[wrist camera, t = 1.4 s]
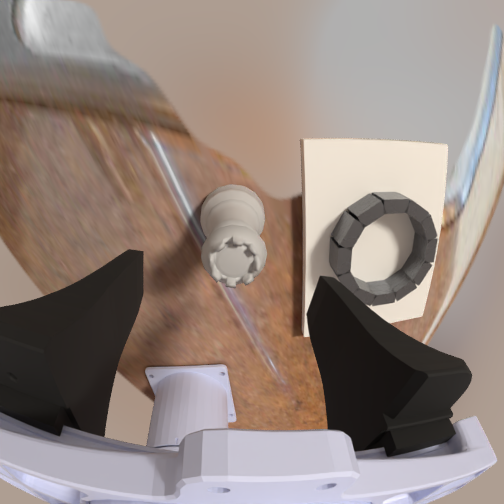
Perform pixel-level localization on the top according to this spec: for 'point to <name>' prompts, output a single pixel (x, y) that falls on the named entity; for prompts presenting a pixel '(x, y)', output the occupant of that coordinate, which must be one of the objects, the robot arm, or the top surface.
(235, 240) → the rook chess piece
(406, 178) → the mount plate
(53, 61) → the top surface
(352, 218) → the segmented grey ring
